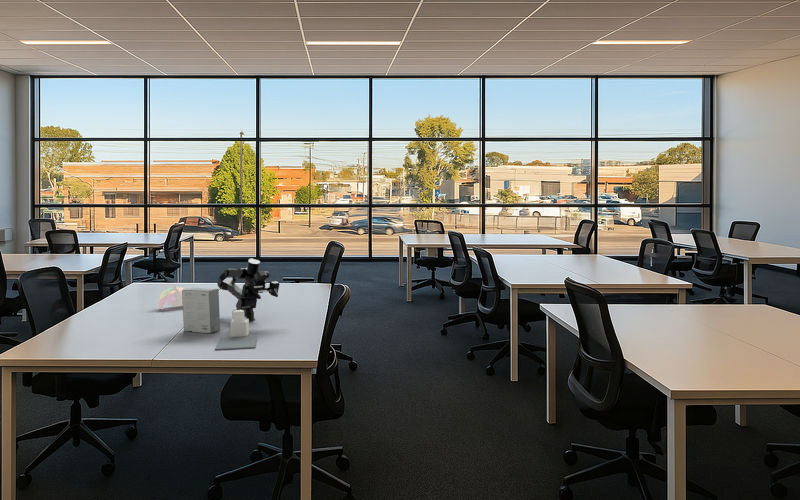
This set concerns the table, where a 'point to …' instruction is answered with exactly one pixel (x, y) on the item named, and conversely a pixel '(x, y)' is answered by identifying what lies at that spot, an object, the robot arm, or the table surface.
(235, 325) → the medicine bottle
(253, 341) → the mat
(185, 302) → the hard drive box
